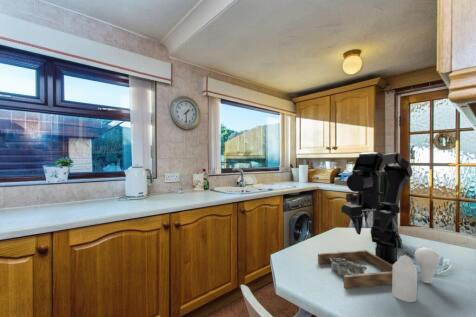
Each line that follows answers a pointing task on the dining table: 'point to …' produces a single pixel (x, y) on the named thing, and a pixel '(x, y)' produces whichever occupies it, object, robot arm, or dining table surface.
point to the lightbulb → (427, 262)
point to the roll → (404, 279)
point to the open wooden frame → (361, 279)
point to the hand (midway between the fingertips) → (370, 233)
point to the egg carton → (342, 266)
